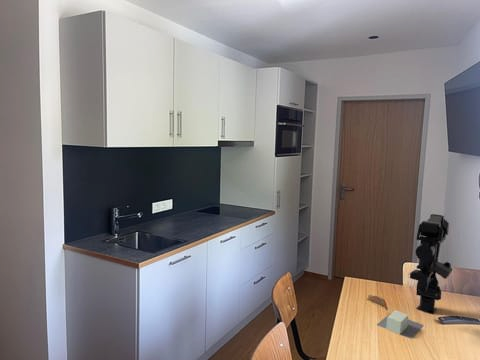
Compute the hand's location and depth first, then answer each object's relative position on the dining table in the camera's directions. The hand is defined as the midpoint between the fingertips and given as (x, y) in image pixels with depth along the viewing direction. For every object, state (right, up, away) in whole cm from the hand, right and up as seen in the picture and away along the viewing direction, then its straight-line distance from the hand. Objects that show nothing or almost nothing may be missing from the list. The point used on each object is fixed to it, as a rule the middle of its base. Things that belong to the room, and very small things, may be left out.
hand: (423, 292), depth 137 cm
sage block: (-10, -10, -1) cm, 14 cm away
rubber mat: (-10, -13, -1) cm, 16 cm away
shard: (-10, -11, +18) cm, 24 cm away
